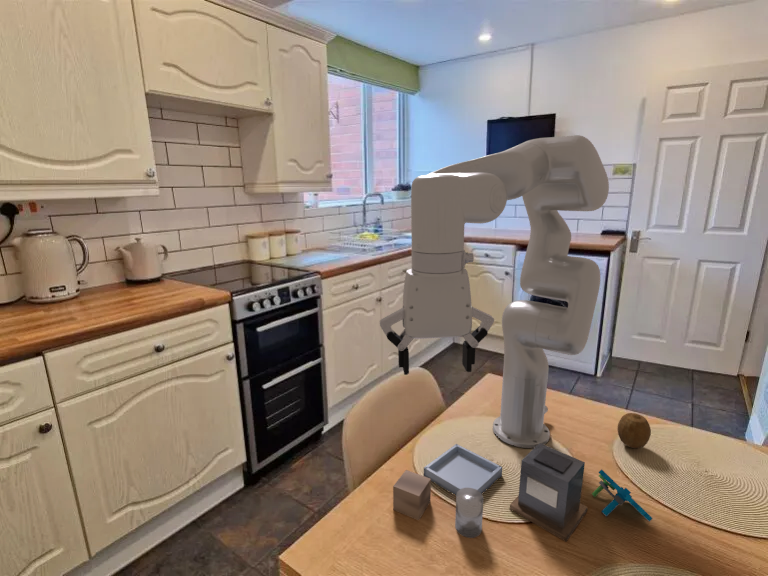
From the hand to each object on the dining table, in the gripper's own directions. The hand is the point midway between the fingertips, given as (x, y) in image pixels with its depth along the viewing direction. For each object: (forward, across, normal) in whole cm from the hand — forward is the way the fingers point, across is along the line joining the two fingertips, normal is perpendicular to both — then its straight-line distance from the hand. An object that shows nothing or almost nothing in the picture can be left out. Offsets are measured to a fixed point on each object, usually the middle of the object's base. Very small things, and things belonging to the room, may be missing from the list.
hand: (436, 369), depth 65 cm
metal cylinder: (+28, -5, +2) cm, 29 cm away
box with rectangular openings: (+28, -20, -1) cm, 35 cm away
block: (+28, +4, -3) cm, 29 cm away
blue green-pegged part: (+29, -33, 0) cm, 44 cm away
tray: (+28, -7, -10) cm, 31 cm away
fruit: (+30, -47, -18) cm, 58 cm away
